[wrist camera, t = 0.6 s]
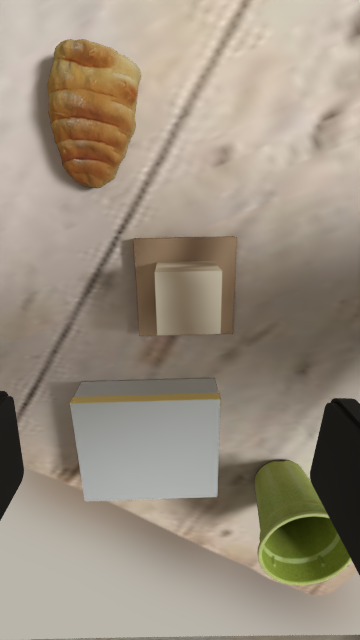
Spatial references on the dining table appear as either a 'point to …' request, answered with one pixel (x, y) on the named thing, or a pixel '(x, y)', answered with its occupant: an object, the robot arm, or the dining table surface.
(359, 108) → the dining table surface
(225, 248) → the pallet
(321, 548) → the plant pot
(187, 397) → the dock
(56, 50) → the pastry
